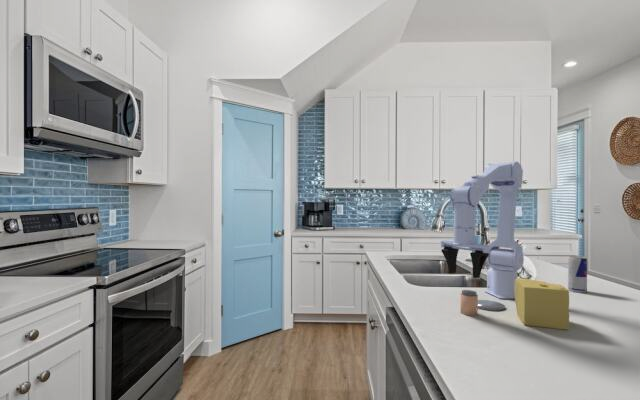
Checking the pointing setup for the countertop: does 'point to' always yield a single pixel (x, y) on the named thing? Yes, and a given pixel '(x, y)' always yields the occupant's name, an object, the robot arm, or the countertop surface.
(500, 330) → the countertop surface
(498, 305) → the coaster
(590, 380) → the countertop surface
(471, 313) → the spice jar
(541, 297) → the cheese
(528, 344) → the countertop surface
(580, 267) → the energy drink
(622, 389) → the countertop surface
